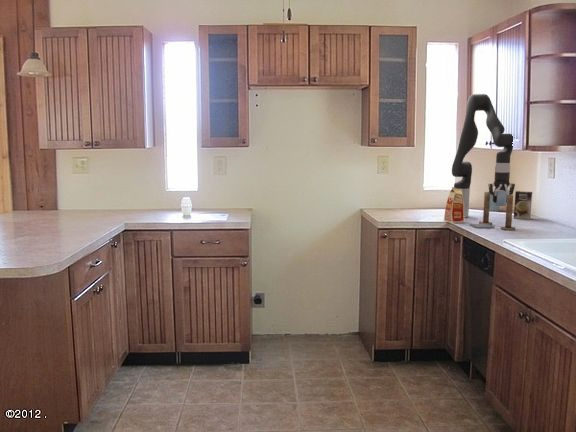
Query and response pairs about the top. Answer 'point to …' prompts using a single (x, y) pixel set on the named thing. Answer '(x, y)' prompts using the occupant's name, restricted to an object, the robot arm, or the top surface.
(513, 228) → the post
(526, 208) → the coffee box
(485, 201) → the post
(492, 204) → the drinking glass
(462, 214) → the milk carton
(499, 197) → the pale blue egg shape
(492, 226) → the mat
